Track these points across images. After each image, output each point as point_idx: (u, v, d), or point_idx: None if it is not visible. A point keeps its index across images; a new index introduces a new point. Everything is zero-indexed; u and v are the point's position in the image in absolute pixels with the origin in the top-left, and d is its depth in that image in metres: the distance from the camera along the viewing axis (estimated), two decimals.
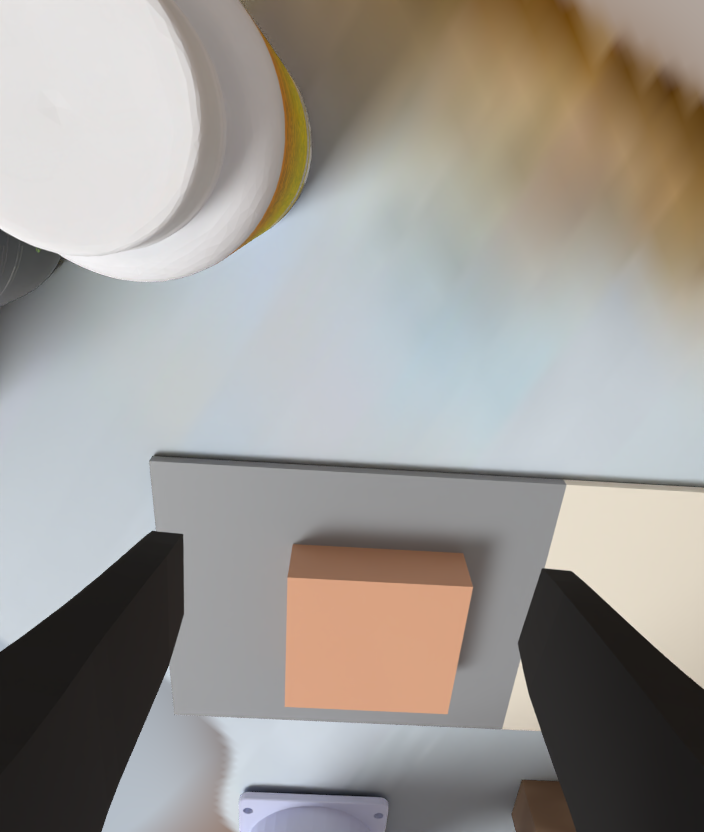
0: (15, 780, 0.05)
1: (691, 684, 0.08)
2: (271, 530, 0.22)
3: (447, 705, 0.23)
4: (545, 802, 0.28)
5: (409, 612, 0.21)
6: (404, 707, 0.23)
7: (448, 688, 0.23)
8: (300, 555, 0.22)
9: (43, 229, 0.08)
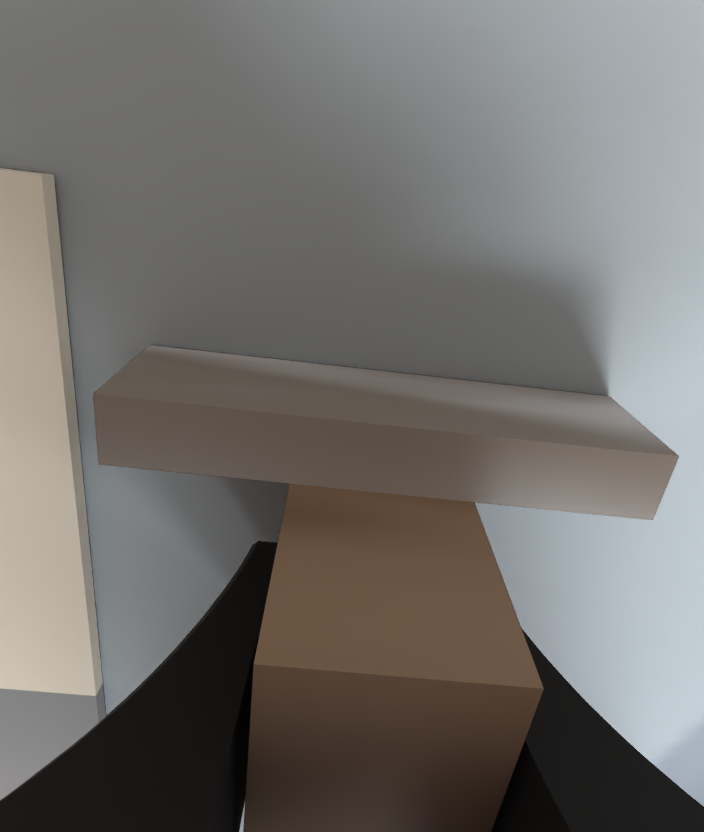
0: (221, 795, 0.05)
1: (552, 673, 0.08)
2: None
3: None
4: None
5: None
6: None
7: None
8: None
9: None
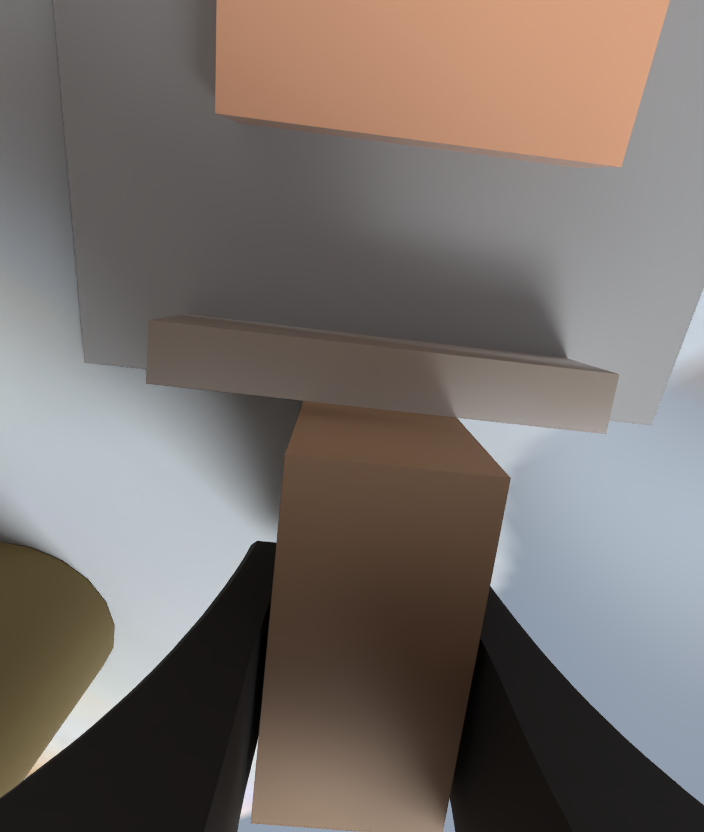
0: (218, 795, 0.05)
1: (553, 673, 0.08)
2: (207, 166, 0.11)
3: None
4: None
5: None
6: None
7: None
8: None
9: None
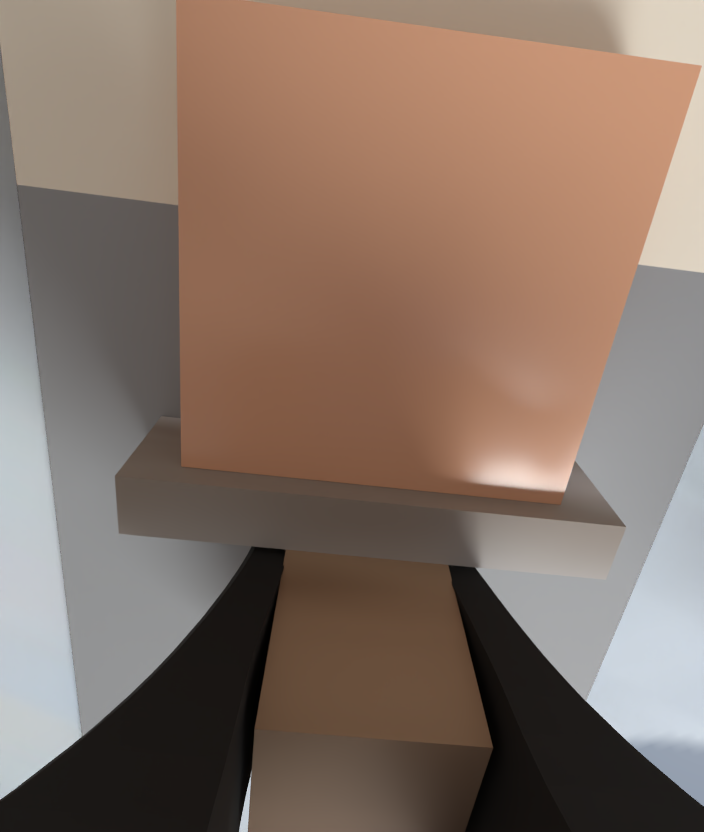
0: (220, 795, 0.05)
1: (552, 672, 0.08)
2: None
3: (661, 66, 0.07)
4: None
5: (273, 194, 0.08)
6: (633, 211, 0.08)
7: (585, 65, 0.07)
8: None
9: None
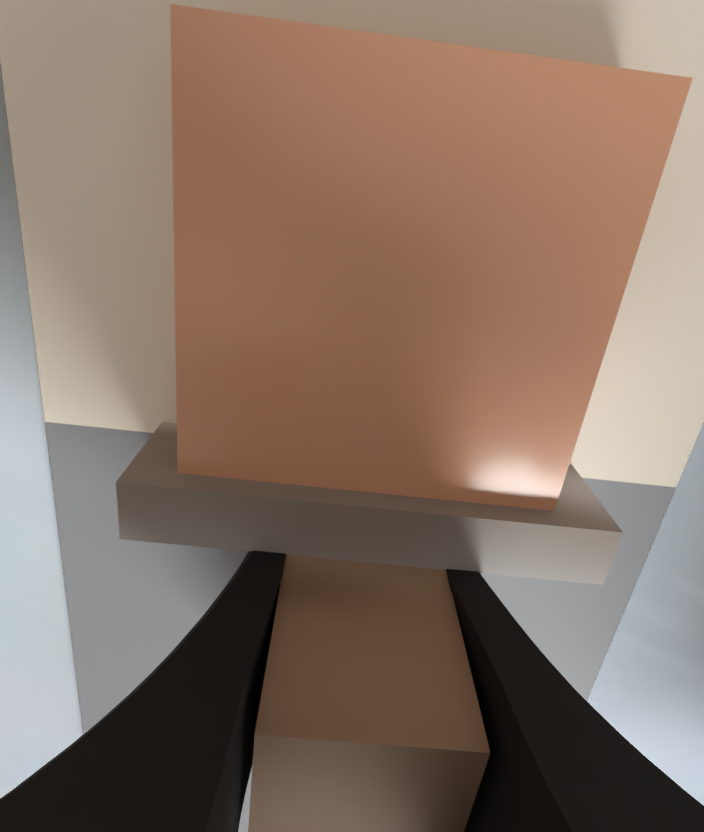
0: (219, 795, 0.05)
1: (552, 672, 0.08)
2: None
3: (652, 79, 0.07)
4: None
5: (268, 204, 0.08)
6: (624, 221, 0.08)
7: (576, 77, 0.07)
8: None
9: None
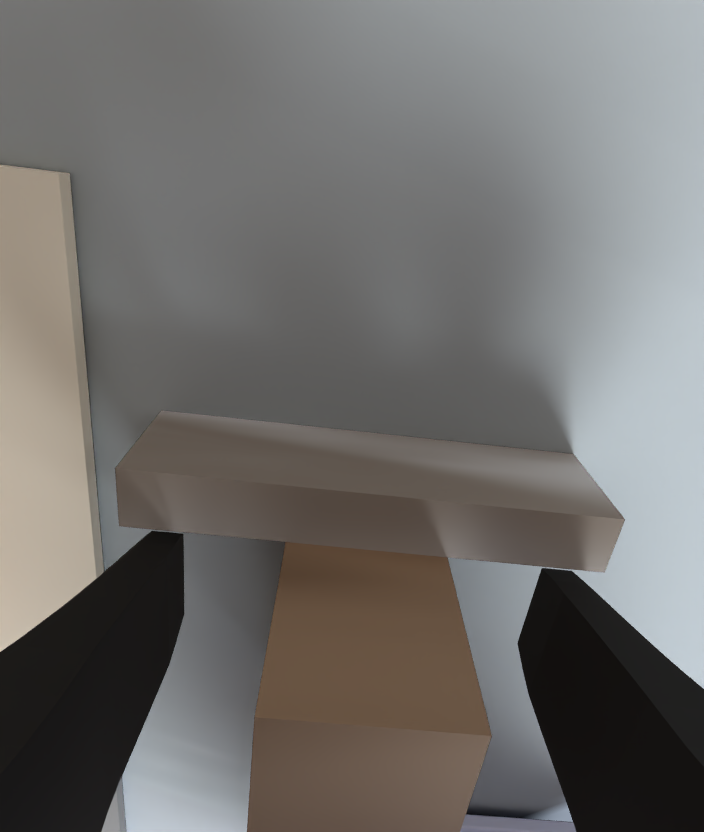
0: (14, 781, 0.05)
1: (691, 684, 0.08)
2: None
3: None
4: None
5: None
6: None
7: None
8: None
9: None
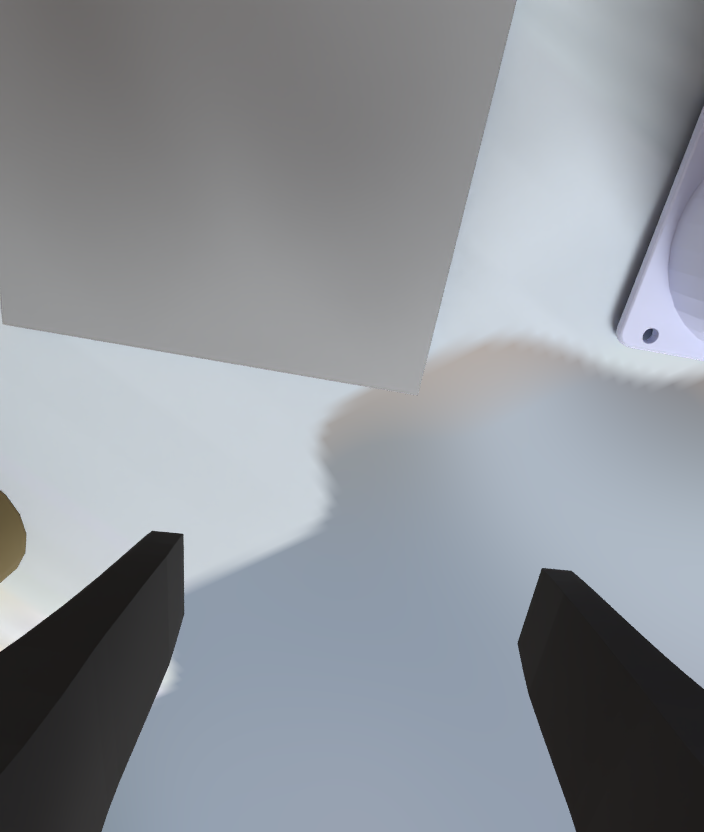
0: (14, 780, 0.05)
1: (691, 684, 0.08)
2: (90, 191, 0.16)
3: None
4: None
5: None
6: None
7: None
8: None
9: None
